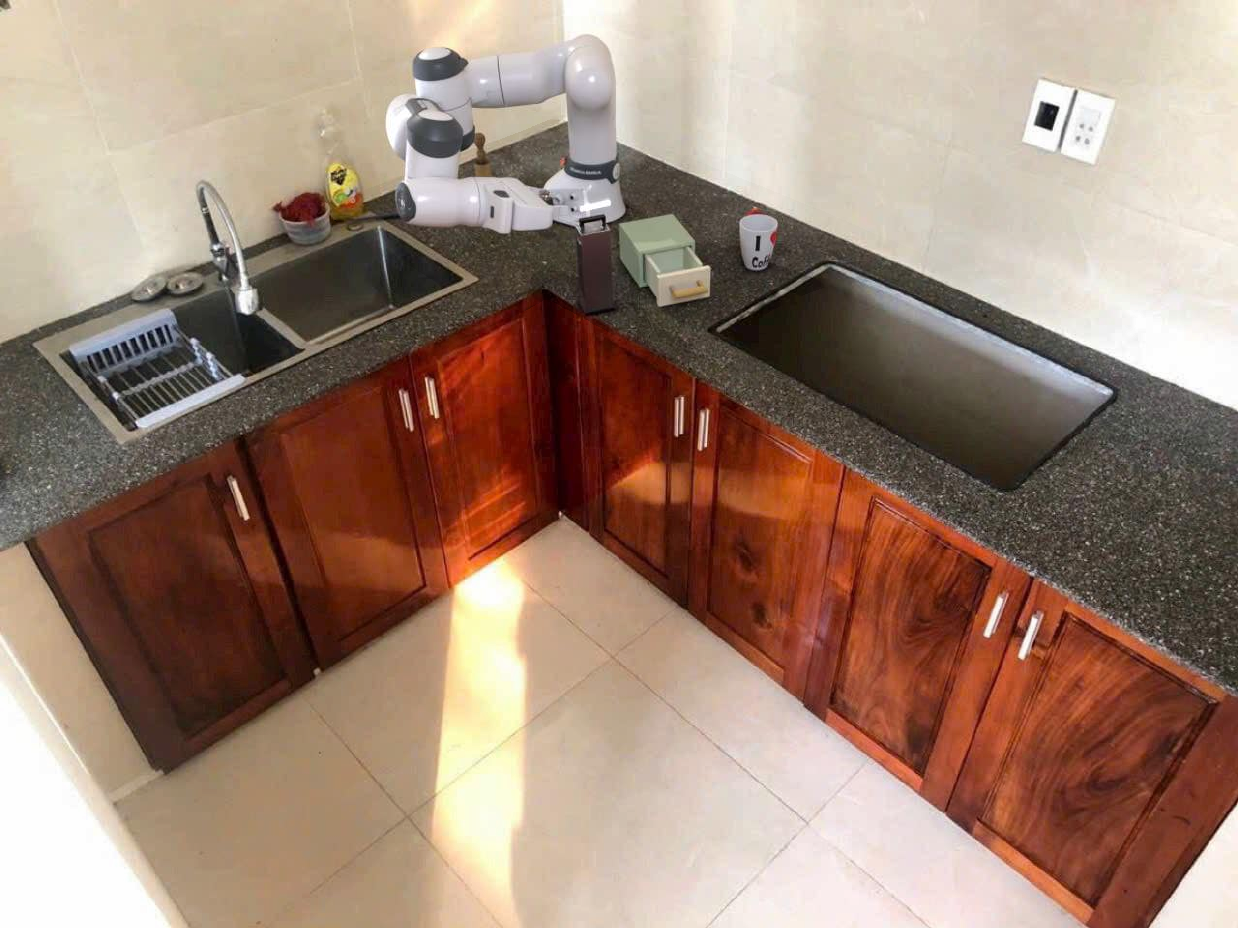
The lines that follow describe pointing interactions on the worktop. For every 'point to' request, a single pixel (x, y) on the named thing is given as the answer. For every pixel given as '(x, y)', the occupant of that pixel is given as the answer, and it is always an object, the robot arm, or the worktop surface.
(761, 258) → the cup
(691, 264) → the drawer
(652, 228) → the cabinet
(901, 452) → the worktop surface
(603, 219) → the grater
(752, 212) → the onion
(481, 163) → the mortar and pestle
